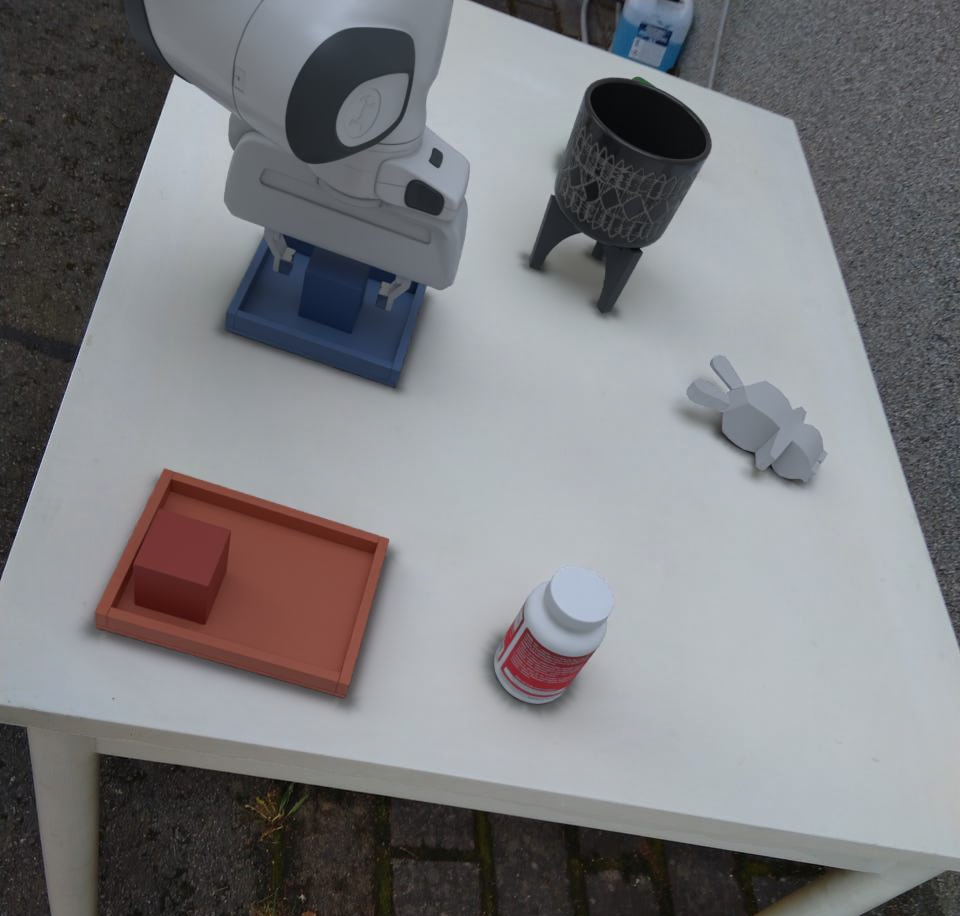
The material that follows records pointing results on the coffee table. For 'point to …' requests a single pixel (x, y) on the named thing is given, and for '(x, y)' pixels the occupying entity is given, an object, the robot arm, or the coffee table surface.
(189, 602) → the red block
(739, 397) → the bunny figurine
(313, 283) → the blue block
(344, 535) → the red tray
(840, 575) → the coffee table surface
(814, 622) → the coffee table surface
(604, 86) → the planter
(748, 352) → the coffee table surface
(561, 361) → the coffee table surface
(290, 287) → the blue tray
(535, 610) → the pill bottle
